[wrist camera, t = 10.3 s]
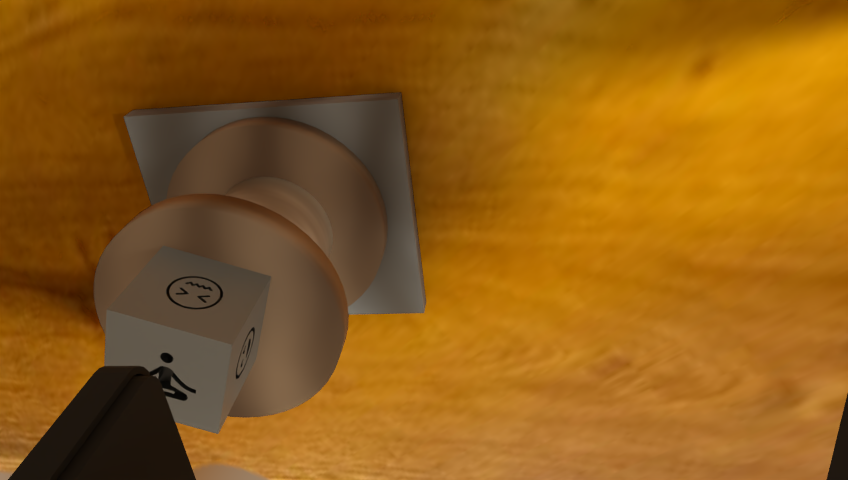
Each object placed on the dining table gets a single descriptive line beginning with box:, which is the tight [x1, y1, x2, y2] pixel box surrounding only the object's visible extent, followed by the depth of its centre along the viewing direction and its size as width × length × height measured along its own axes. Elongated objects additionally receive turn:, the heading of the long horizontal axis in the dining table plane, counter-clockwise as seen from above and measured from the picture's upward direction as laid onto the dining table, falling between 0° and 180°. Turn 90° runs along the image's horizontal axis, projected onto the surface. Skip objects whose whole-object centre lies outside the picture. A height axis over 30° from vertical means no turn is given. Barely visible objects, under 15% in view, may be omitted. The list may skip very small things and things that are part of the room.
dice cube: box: [105, 246, 271, 434], centre depth 30 cm, size 5×5×5 cm
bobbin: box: [94, 92, 426, 417], centre depth 38 cm, size 16×14×12 cm
